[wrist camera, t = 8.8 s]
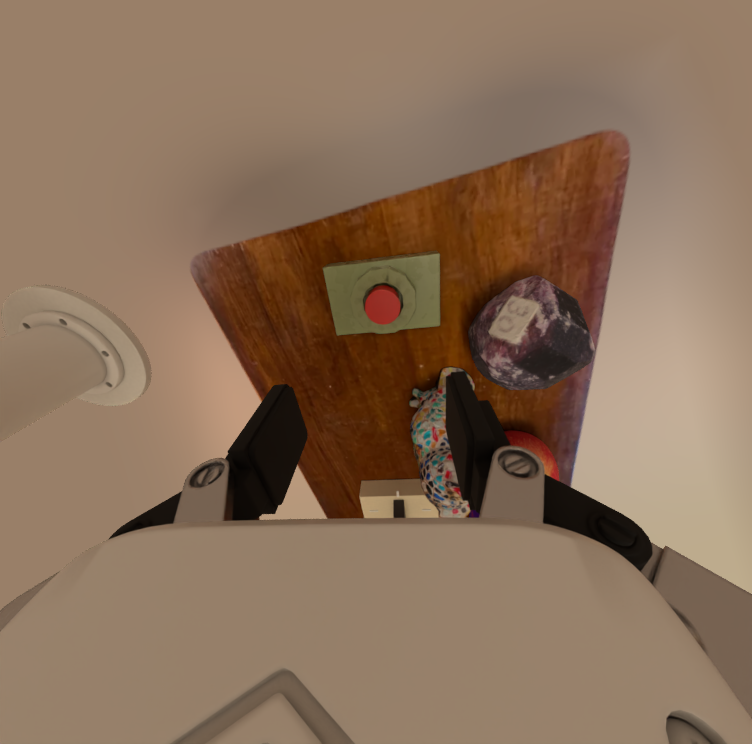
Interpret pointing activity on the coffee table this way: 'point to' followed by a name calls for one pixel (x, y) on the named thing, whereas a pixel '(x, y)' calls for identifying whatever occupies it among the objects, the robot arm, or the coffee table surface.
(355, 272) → the button box
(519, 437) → the apple
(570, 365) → the mineral specimen
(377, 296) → the button
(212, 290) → the coffee table surface
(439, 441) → the figurine
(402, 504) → the black block
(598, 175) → the coffee table surface
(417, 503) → the panel
